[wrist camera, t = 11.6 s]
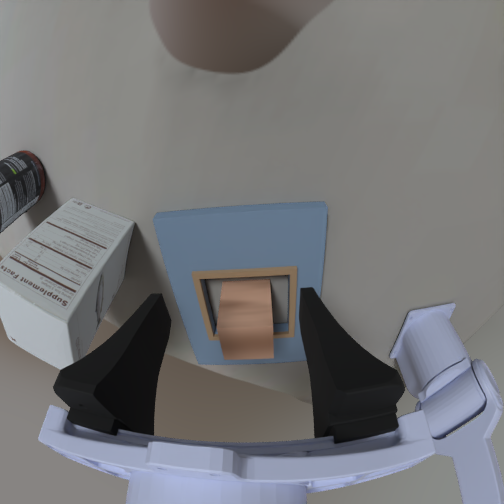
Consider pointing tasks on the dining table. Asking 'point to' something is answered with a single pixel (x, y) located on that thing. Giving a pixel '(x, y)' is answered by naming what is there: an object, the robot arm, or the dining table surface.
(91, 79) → the dining table surface
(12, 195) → the supplement bottle
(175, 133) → the dining table surface
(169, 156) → the dining table surface
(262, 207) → the blue board with hole
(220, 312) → the block
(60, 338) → the supplement box
